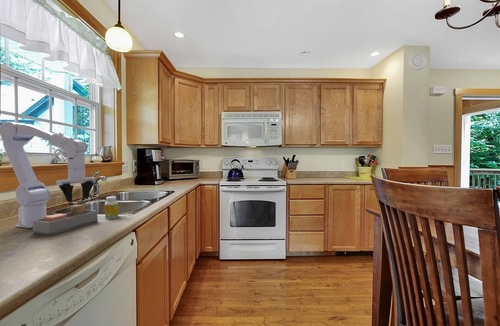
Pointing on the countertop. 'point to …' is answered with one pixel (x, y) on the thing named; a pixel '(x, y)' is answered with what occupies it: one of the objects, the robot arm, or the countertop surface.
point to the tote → (64, 223)
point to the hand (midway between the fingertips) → (77, 200)
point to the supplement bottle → (111, 208)
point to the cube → (55, 217)
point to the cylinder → (77, 210)
